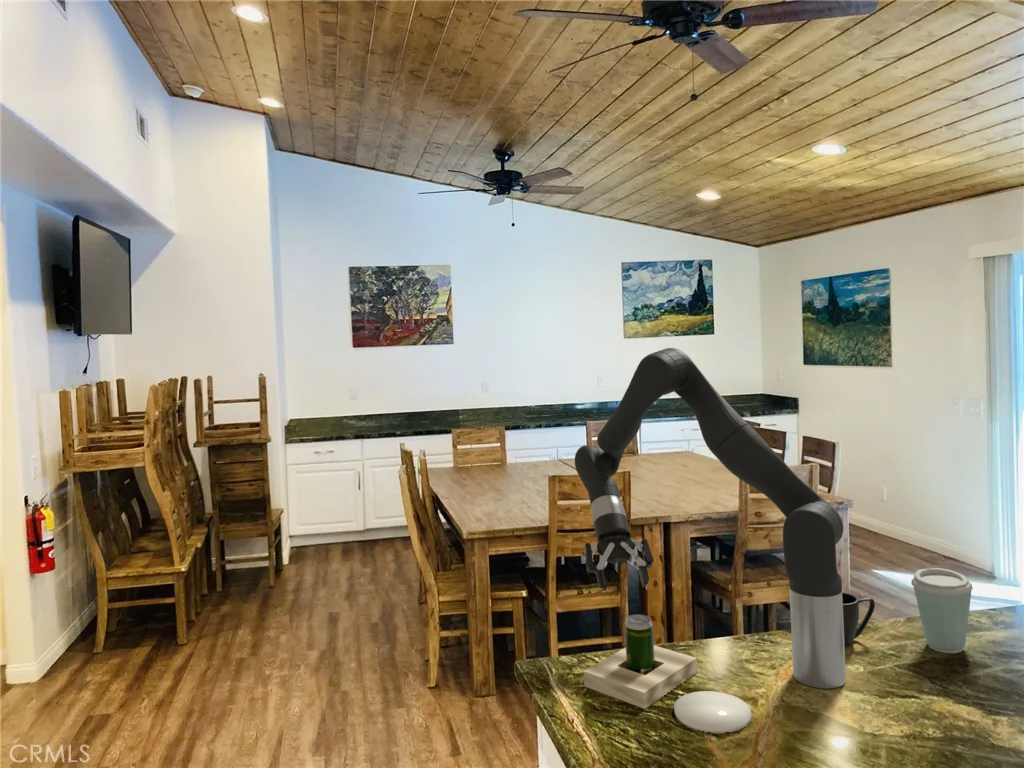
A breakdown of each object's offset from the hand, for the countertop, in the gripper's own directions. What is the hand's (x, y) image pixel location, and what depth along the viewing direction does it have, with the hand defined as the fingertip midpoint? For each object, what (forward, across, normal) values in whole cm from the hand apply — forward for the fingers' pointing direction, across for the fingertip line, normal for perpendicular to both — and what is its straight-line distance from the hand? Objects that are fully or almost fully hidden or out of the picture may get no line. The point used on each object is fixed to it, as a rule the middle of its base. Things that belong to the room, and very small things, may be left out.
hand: (625, 587), depth 148 cm
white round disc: (+28, +9, -7) cm, 31 cm away
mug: (+12, +47, +9) cm, 49 cm away
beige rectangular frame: (+18, 0, +3) cm, 18 cm away
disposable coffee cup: (+17, +63, +4) cm, 66 cm away
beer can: (+18, 0, +4) cm, 18 cm away
